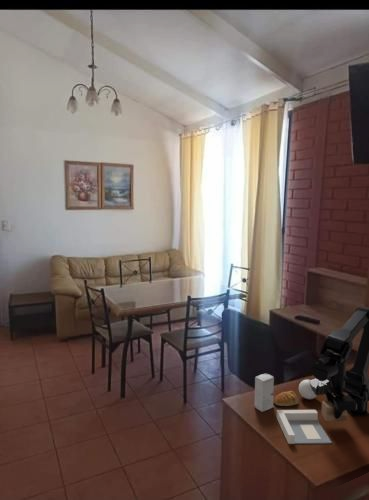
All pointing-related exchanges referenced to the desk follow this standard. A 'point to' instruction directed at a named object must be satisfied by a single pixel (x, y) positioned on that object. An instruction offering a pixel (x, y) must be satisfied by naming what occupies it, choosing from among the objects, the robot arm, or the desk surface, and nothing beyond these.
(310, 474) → the desk surface
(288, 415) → the corner arena
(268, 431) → the desk surface
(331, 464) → the desk surface
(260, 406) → the skincare box
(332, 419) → the walnut block
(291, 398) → the pastry
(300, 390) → the white egg
